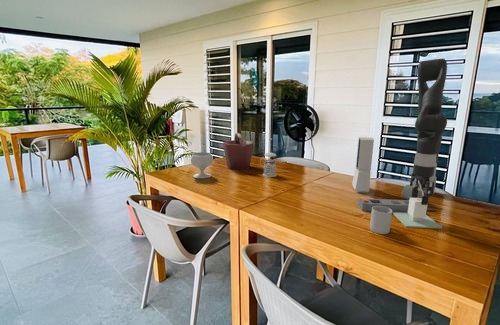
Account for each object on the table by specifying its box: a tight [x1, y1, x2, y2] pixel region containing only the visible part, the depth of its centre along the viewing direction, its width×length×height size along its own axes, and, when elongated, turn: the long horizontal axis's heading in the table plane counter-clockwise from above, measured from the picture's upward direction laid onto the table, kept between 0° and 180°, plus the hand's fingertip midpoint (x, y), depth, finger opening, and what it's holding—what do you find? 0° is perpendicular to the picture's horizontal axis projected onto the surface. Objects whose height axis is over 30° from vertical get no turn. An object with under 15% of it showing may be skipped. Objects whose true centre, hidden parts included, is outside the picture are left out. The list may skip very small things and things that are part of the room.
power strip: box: [357, 198, 436, 213], centre depth 133 cm, size 34×7×4 cm, turn 85°
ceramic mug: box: [401, 184, 422, 200], centre depth 145 cm, size 11×8×8 cm
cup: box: [369, 206, 393, 235], centre depth 113 cm, size 7×10×9 cm
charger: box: [408, 198, 428, 221], centre depth 121 cm, size 5×5×9 cm
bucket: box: [222, 132, 254, 171], centre depth 208 cm, size 24×22×25 cm
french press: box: [259, 137, 278, 178], centre depth 188 cm, size 10×12×25 cm
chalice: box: [190, 151, 214, 180], centre depth 184 cm, size 14×14×15 cm
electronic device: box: [352, 136, 375, 194], centre depth 158 cm, size 12×8×30 cm, turn 168°
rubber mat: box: [392, 212, 443, 229], centre depth 122 cm, size 14×14×1 cm
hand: (418, 200), depth 120 cm, fingers open, 8 cm apart
